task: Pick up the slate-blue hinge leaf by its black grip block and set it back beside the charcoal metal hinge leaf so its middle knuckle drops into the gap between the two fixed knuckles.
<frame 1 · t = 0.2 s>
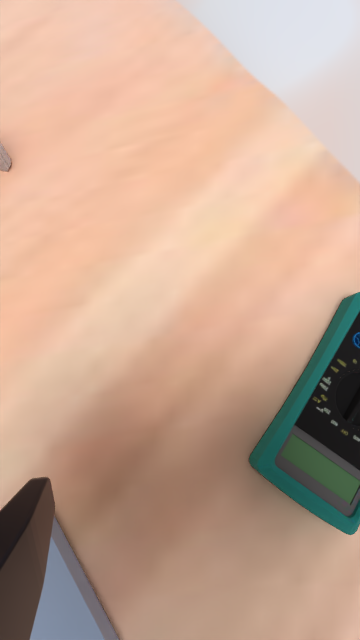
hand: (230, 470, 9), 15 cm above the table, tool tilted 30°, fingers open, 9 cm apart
digital multimeter: (336, 403, 25), on the table
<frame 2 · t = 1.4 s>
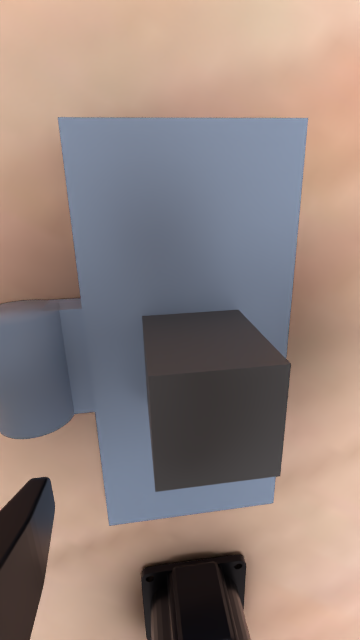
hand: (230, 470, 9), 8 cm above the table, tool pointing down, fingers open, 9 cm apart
swing leaf: (38, 350, 16), on the table
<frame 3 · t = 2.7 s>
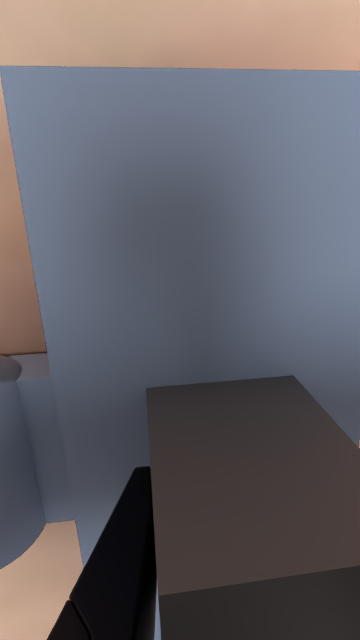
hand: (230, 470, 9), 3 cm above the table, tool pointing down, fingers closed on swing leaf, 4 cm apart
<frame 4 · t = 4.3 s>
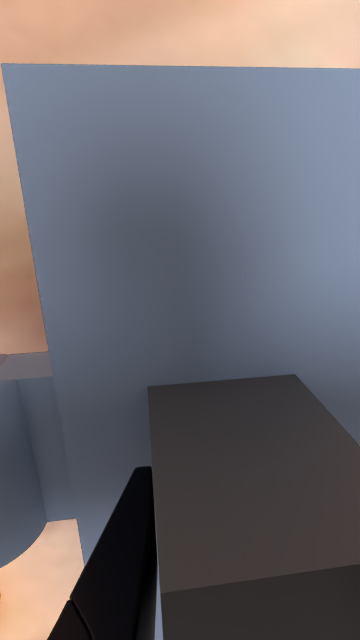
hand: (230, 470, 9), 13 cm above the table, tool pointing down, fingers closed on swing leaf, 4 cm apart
when the fingers open (4 cm above the table, at t = 6.2 s): swing leaf drops 1 cm, on the table.
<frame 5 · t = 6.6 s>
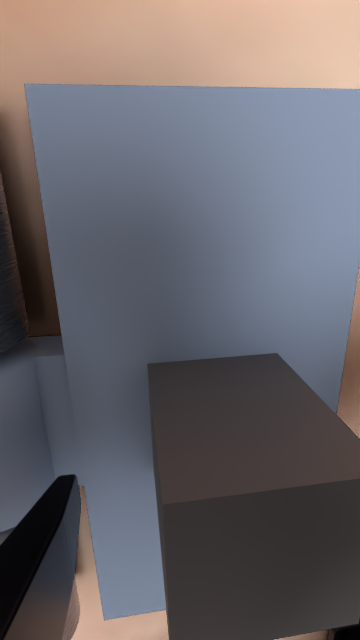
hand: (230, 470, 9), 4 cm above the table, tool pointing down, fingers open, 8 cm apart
fixed leaf: (8, 402, 12), on the table
swing leaf: (10, 400, 12), on the table
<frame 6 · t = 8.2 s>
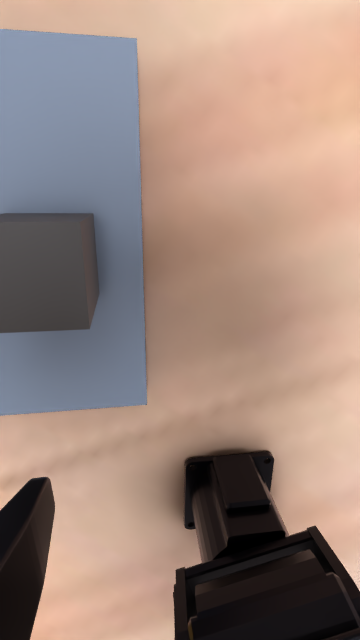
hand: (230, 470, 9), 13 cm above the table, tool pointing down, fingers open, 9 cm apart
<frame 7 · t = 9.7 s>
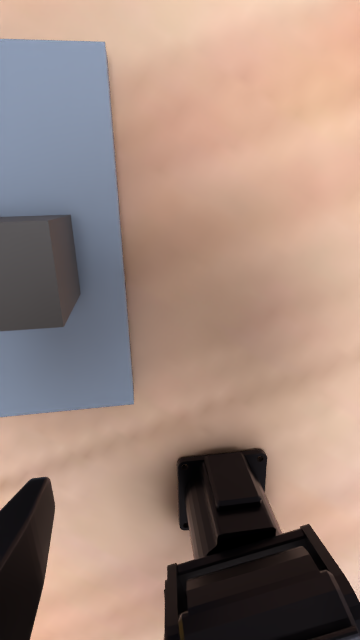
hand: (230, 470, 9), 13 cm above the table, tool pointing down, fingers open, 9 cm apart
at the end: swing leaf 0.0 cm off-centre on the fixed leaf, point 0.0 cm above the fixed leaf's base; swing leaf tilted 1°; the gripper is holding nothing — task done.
